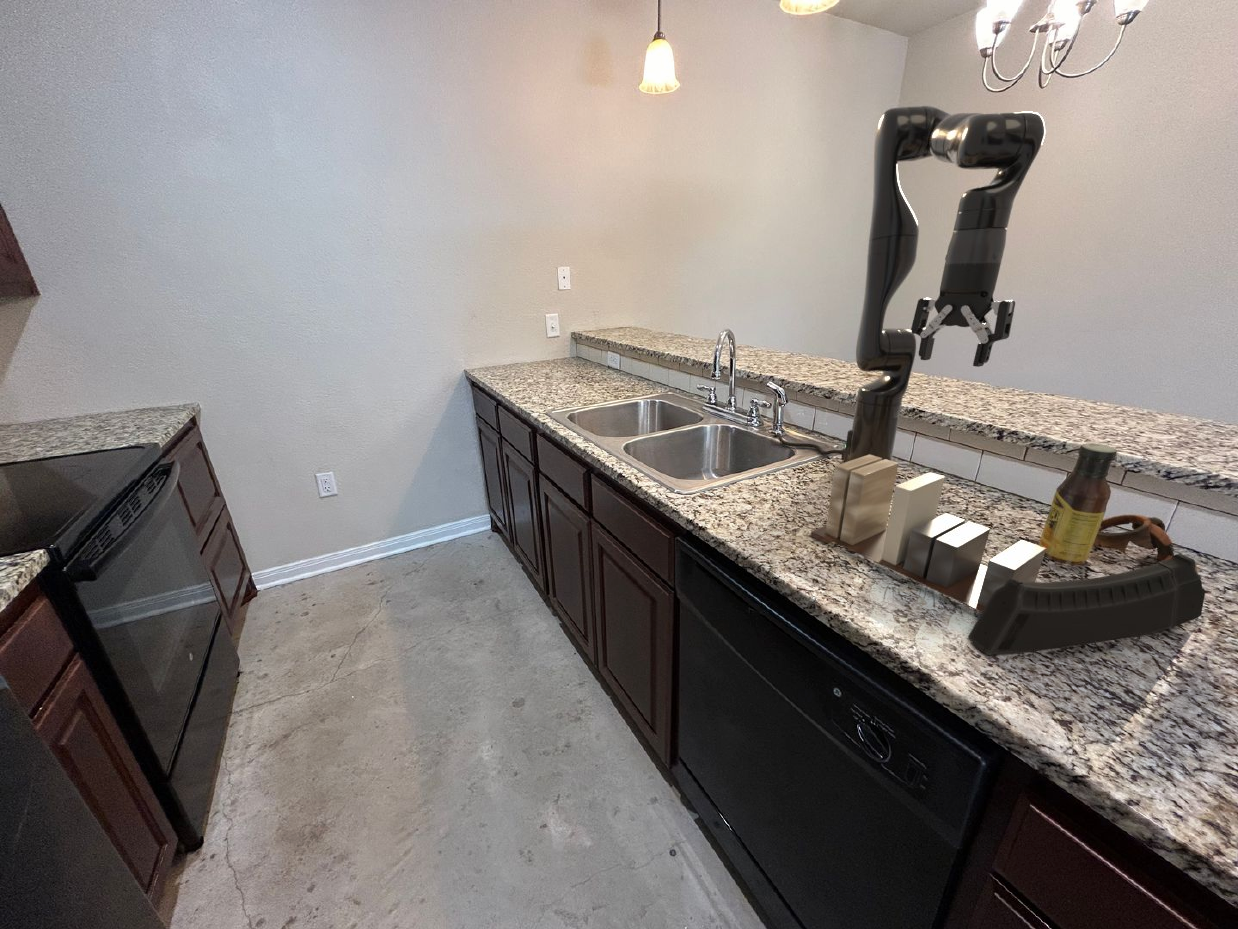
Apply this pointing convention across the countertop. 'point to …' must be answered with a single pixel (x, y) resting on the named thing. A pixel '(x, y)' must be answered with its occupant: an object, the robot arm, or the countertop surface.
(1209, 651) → the countertop surface
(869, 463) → the book board
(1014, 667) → the countertop surface
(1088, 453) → the sauce bottle
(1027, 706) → the countertop surface
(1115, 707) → the countertop surface
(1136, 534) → the rusty ring bracket
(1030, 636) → the magazine
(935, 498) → the cream book
